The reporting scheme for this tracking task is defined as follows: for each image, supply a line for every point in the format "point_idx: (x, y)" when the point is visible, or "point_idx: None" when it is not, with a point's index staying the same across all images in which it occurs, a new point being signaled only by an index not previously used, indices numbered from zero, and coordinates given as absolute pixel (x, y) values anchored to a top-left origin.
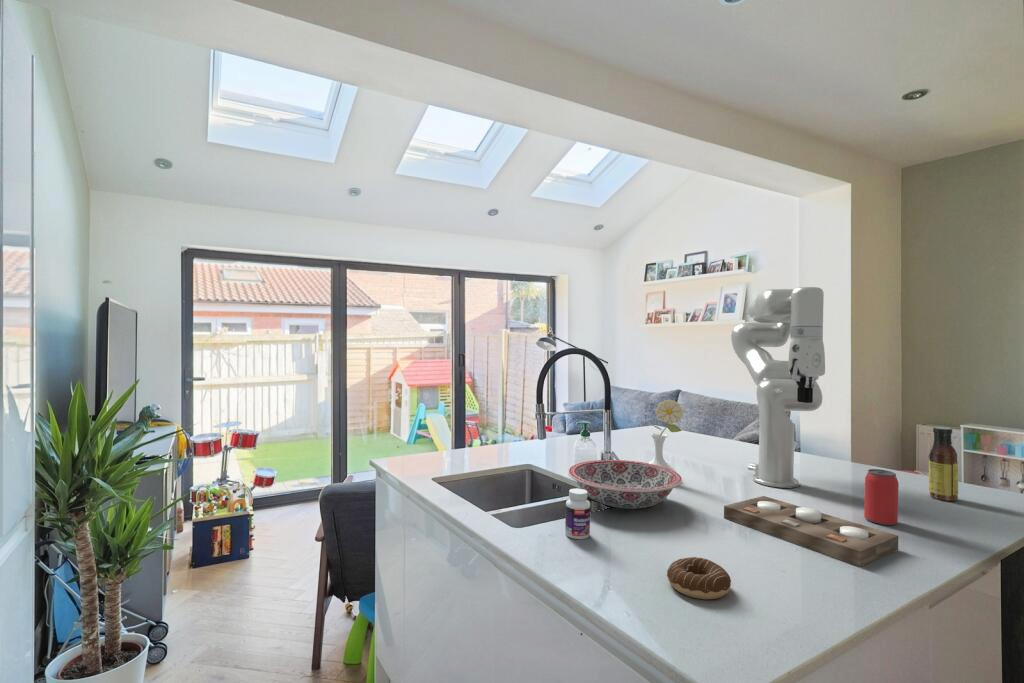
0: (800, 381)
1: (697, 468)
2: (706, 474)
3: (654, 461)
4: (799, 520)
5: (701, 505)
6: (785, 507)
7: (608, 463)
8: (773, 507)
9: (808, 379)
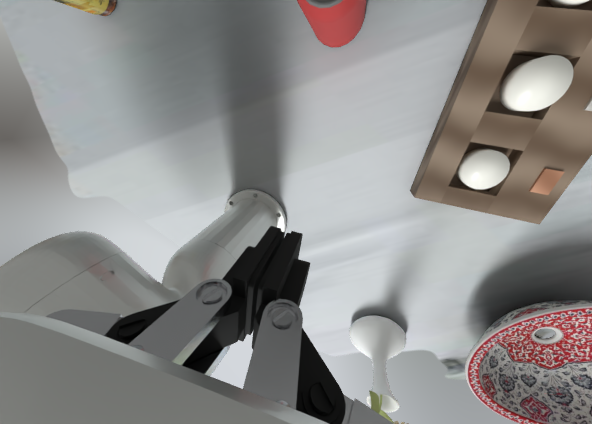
0: (340, 396)
1: None
2: None
3: (388, 358)
4: None
5: (471, 257)
6: (467, 146)
7: (500, 402)
8: (503, 157)
9: (254, 370)
